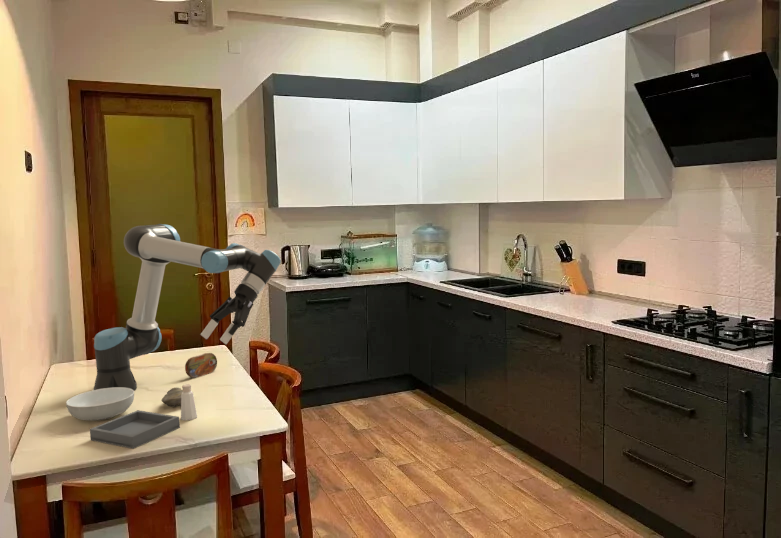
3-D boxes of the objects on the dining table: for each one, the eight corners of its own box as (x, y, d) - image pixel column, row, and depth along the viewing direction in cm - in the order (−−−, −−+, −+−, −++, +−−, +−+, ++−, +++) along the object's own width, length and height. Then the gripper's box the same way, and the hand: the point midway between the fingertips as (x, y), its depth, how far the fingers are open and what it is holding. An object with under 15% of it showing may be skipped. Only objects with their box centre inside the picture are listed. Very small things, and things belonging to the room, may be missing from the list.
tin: (189, 380, 250) (188, 359, 249) (184, 379, 252) (182, 358, 251) (218, 370, 263) (217, 351, 262) (213, 369, 265) (211, 350, 264)
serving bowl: (104, 403, 224) (102, 384, 223) (149, 409, 216) (147, 389, 215) (52, 423, 205) (50, 403, 204) (100, 430, 197) (98, 409, 196)
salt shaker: (184, 415, 208) (182, 382, 207) (200, 414, 207) (197, 382, 206) (177, 420, 202) (174, 387, 201) (193, 420, 202) (191, 387, 201)
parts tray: (90, 440, 188) (89, 429, 188) (138, 420, 204) (137, 410, 204) (133, 448, 180) (132, 437, 180) (179, 427, 196) (179, 416, 196)
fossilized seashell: (199, 396, 222) (190, 380, 219) (182, 416, 213) (172, 399, 210) (177, 399, 226) (168, 384, 224) (159, 418, 217) (149, 402, 215)
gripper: (276, 298, 211) (239, 350, 202) (238, 293, 229) (203, 341, 221) (261, 284, 207) (223, 337, 198) (224, 280, 225) (188, 328, 217)
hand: (213, 339), depth 209 cm, fingers open, 13 cm apart
